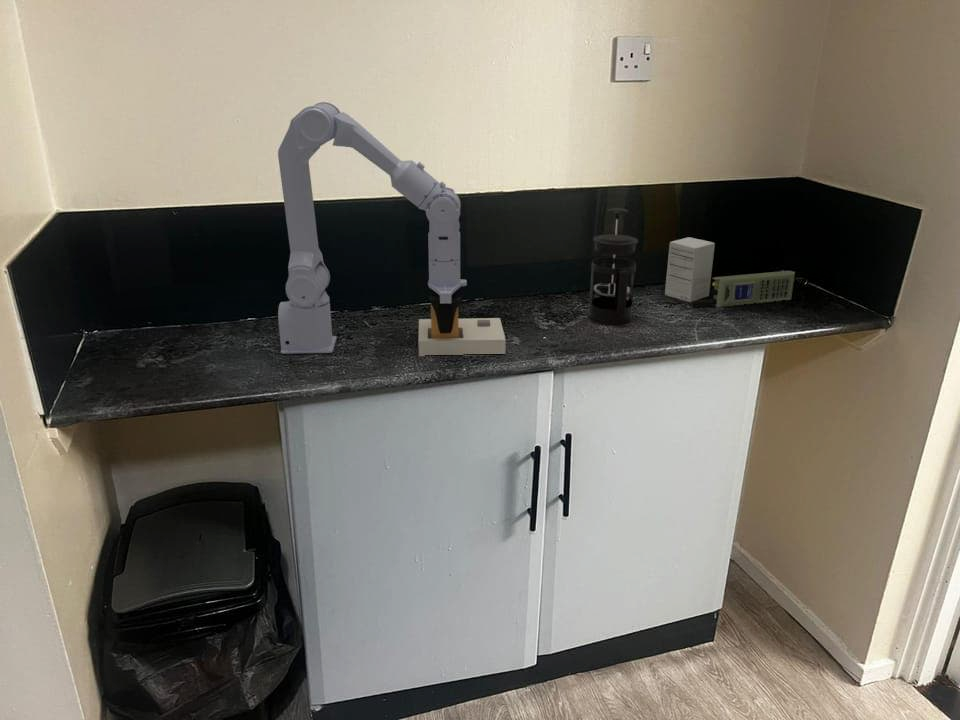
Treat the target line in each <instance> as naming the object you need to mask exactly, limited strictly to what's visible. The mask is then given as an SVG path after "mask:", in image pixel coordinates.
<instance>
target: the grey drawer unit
mask: <svg viewBox="0 0 960 720" xmlns="http://www.w3.org/2000/svg"><path fill="white" fill-rule="evenodd" d="M715 245H716V243H715V242H712V241H708V240H705V239H698V238H694V237H690V236H688V237H685V238H681V239H675V240H673V241H670V242H669V247H668V255H667V256H668V257H667V258H668V259H667V269H666V278H665V279H666V280H665V289H664V295H665V296H667V297H669V298H674V299H677V300H681V301H684V302H688V303H692V301H697V300H702V299H704V298H706V297H709V296H710V289H711V279H712V273H713V271H712V270H713V264H714V263H713V262H714V254H715V247H716V246H715Z"/></svg>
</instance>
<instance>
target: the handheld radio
mask: <svg viewBox="0 0 960 720" xmlns="http://www.w3.org/2000/svg"><path fill="white" fill-rule="evenodd" d="M795 274H796V271H792V270H782V271H772V272H770V271H769V272H761V273H748V274H737V275H727V276H726V275H725V276H715V277H712V280H714V281H713V282H712V284H711V285H712V286H713V287H714V289H712V290H711V291H710V294H711V296H713V298H711V299H698V300H695V301H692V302H691V306H692V307H701V306H702V307H703V306H710V305H712V306H715V307H716V308H726V307H734V306H735V305H736V306H744V304H746V305H755V304H754V303H756V304H766V303H773V302H774V301H776V302H782V300H786V301H792V296H793V289H794V283H795V282H794V281H795ZM765 302H766V303H765Z"/></svg>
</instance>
